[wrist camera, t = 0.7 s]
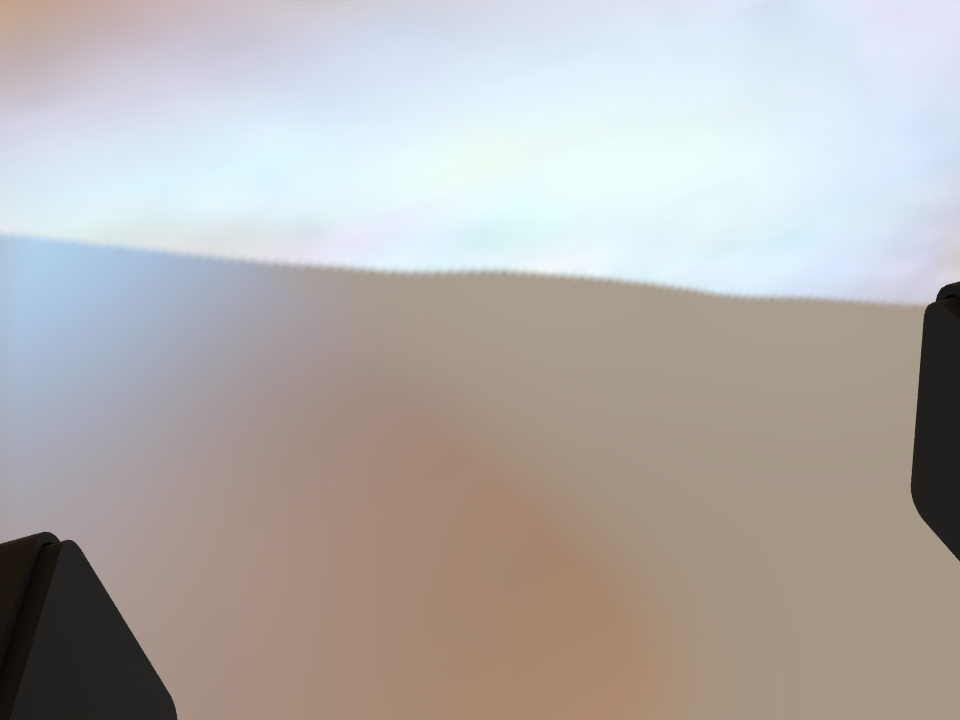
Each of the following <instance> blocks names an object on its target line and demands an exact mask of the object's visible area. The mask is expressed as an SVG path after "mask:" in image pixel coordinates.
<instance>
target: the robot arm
mask: <svg viewBox="0 0 960 720" xmlns="http://www.w3.org/2000/svg"><path fill="white" fill-rule="evenodd" d="M911 494H912V498H913V501H914V504H915V506H916V509H917V511H918V513H919V515H920V516H921V517H922V519H923V520H924V521H925V522H926V524H927V525H928V526H929V527H930V528H931V529H932V530H933V531H934V533H935V534H936V535H937V536H938V537H939V538H940V539H941V541H942V542H943V543H944V544H945V545H946V546H947V547H948V549H949V550H950V551H951V552H952V553H953V554H954V555H955V556H956V558H958V560H959V561H960V282H956V283H952V284H949V285H946V286H944V287H943V288H941V290H940V291H939V293H938V295H937V298H936V302H933V303H931V304H930V305H928V307H927V308H926V310H925V314H924V323H923V336H922V348H921V362H920V374H919V388H918V400H917V413H916V426H915V439H914V452H913V465H912V477H911ZM0 720H177V714H176V709H175V705H174V702H173V700H172V698H171V696H170V694H169V692H168V691H167V689H166V687H165V686H164V684H163V682H162V681H161V679H160V678H159V676H158V675H157V673H156V671H155V669H154V668H153V666H152V665H151V663H150V661H149V660H148V658H147V656H146V655H145V653H144V652H143V650H142V648H141V647H140V645H139V643H138V642H137V640H136V638H135V637H134V635H133V634H132V632H131V630H130V629H129V627H128V626H127V624H126V622H125V621H124V619H123V618H122V616H121V614H120V612H119V611H118V609H117V607H116V606H115V604H114V603H113V601H112V599H111V598H110V596H109V594H108V593H107V592H106V590H105V588H104V586H103V585H102V583H101V581H100V580H99V578H98V577H97V575H96V574H95V572H94V570H93V568H92V567H91V565H90V563H89V562H88V560H87V559H86V557H85V555H84V554H83V552H82V550H81V549H80V548H79V546H78V545H77V544H76V543H75V542H74V541H72V540H65V541H62V542H60V541H59V539H58V538H57V537H56V536H55V535H53V534H52V533H50V532H42V533H38V534H34V535H31V536H27V537H23V538H20V539H16V540H12V541H9V542H5V543H2V544H0Z"/></svg>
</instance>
